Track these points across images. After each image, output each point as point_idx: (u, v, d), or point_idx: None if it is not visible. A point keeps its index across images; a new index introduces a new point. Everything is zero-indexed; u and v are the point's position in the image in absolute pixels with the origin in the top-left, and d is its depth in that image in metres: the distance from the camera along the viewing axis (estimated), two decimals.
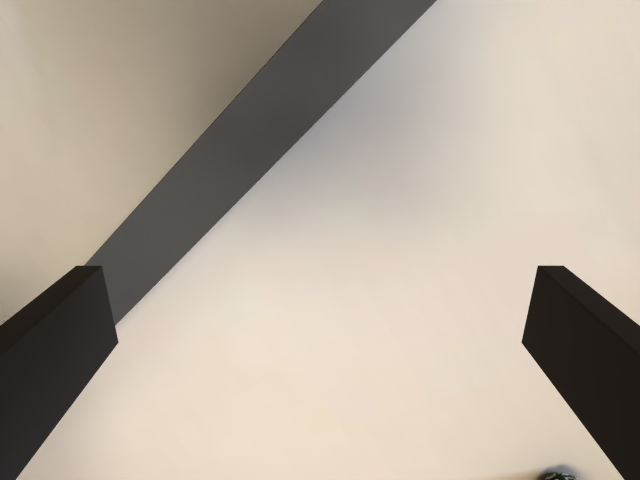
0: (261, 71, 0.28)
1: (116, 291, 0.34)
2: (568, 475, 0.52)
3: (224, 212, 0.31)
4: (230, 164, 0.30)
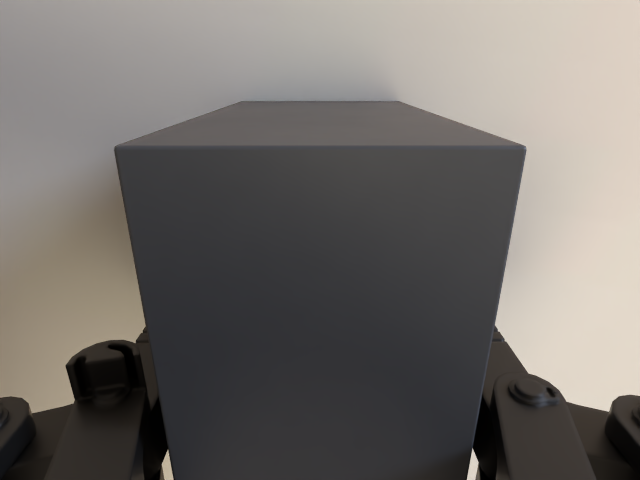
0: None
1: None
2: None
3: None
4: None
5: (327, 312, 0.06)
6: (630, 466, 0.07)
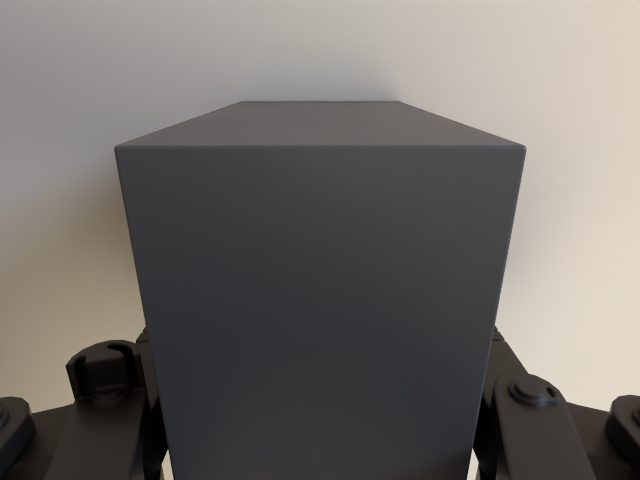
0: None
1: None
2: None
3: None
4: None
5: (327, 312, 0.06)
6: (630, 466, 0.07)
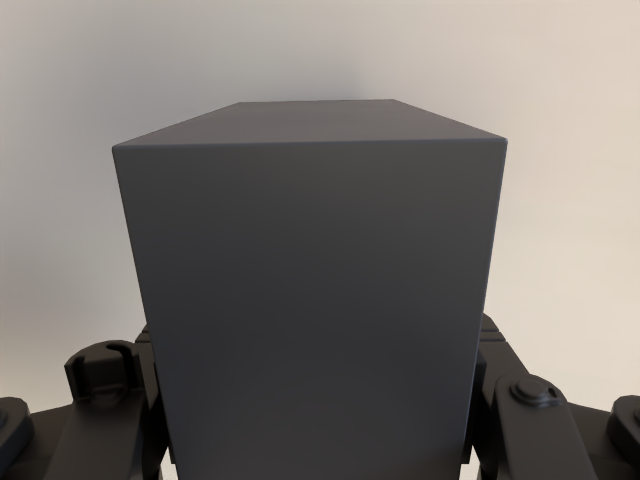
0: None
1: None
2: None
3: None
4: None
5: (320, 303, 0.06)
6: (632, 466, 0.07)
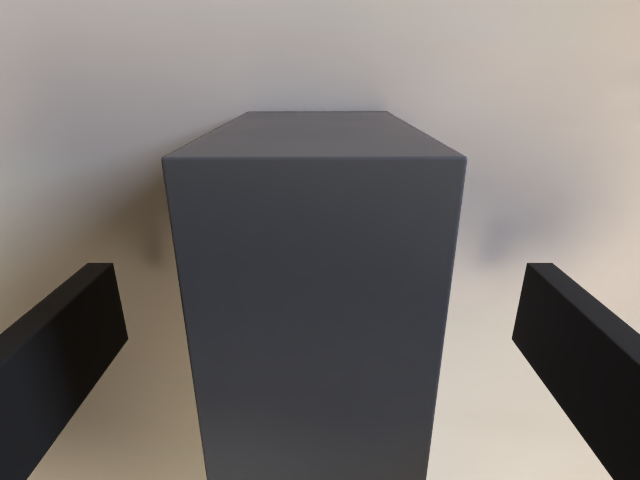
0: None
1: None
2: None
3: None
4: None
5: (320, 283, 0.08)
6: None
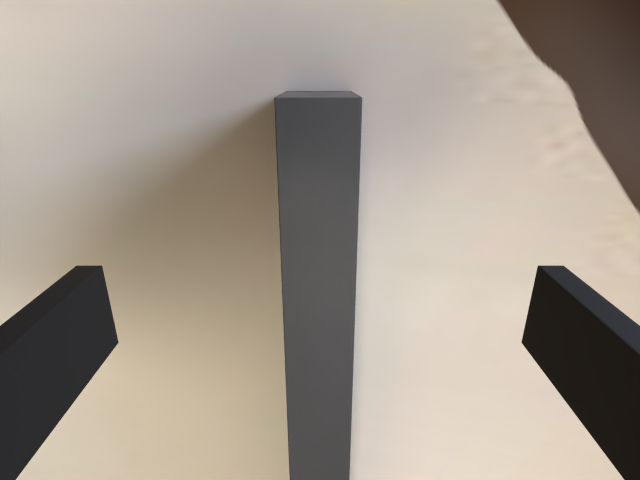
0: (287, 383, 0.31)
1: None
2: None
3: (348, 472, 0.35)
4: (323, 445, 0.34)
5: (320, 138, 0.25)
6: None
